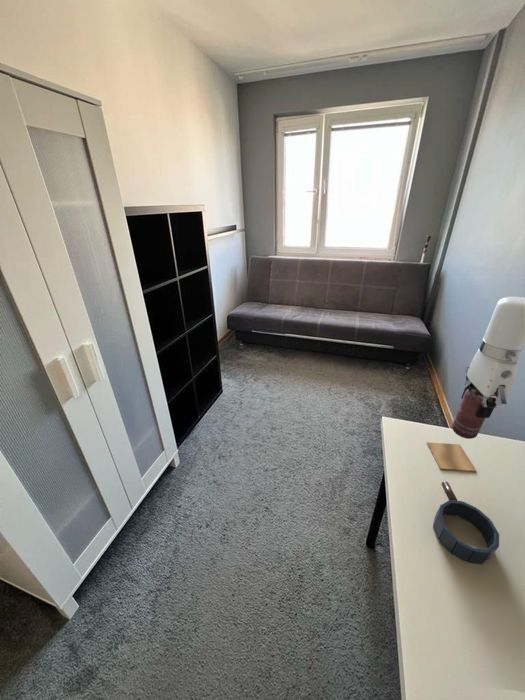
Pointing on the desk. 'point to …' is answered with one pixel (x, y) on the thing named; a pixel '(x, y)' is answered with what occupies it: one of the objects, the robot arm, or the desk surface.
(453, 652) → the desk surface
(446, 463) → the coaster
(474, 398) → the can
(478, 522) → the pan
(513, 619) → the desk surface
